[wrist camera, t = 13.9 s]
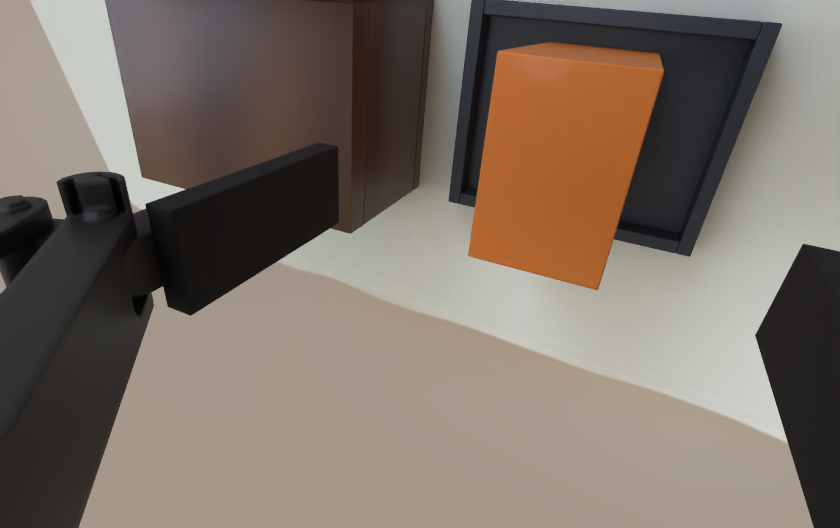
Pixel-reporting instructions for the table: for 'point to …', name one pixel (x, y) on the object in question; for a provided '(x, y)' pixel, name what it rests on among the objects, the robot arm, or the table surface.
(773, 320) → the robot arm
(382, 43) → the shelf
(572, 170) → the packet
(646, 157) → the tray
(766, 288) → the table surface
